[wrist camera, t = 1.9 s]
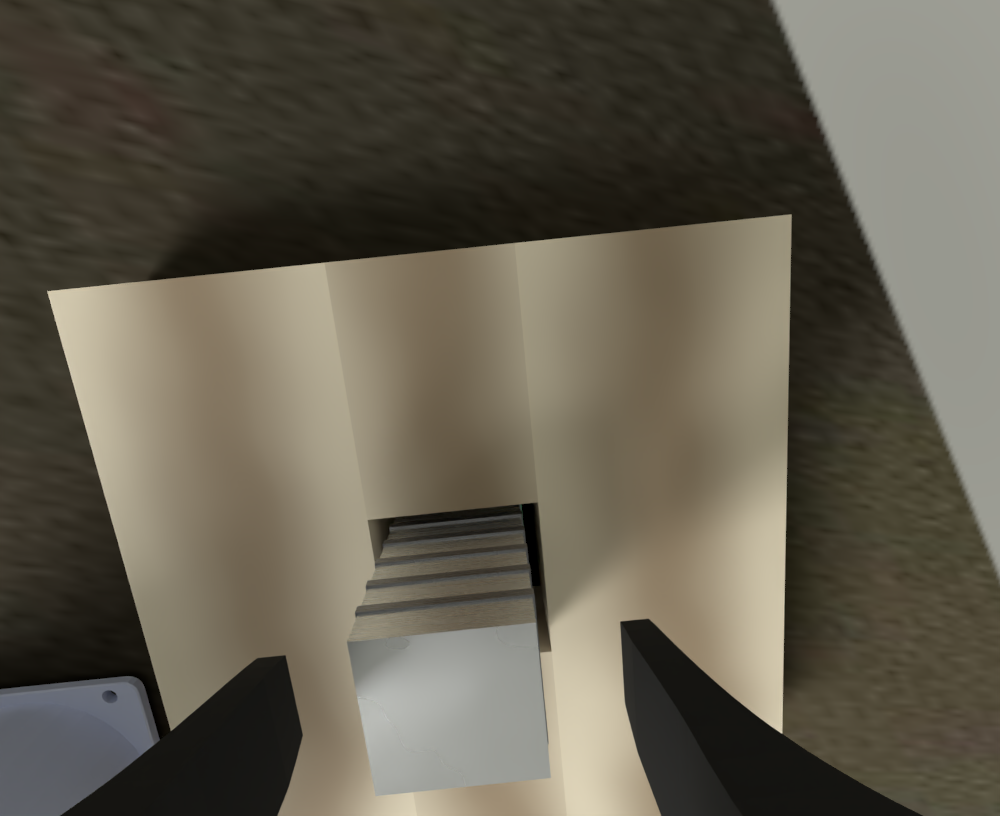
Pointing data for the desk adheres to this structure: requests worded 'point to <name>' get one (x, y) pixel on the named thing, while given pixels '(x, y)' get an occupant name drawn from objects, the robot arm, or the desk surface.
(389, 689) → the grey striped block
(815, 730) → the desk surface
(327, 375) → the stand block
